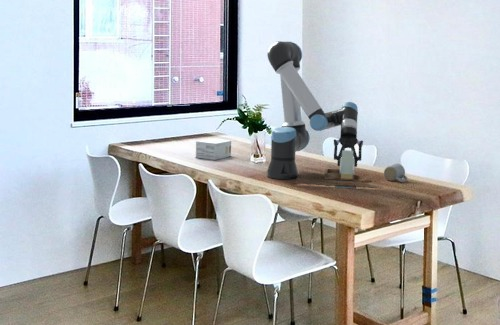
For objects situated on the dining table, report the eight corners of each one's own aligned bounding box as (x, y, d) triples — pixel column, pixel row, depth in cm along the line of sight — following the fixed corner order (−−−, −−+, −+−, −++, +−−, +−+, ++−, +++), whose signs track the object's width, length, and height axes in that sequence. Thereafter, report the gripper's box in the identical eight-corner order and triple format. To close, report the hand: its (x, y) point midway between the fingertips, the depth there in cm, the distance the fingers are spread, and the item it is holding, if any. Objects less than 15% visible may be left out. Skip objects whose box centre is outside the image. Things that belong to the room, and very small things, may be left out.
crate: (324, 180, 320) (324, 173, 320) (325, 175, 334) (326, 168, 333) (354, 182, 318) (354, 175, 318) (354, 177, 332) (354, 169, 331)
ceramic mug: (382, 180, 326) (383, 164, 325) (390, 177, 332) (392, 162, 331) (401, 183, 319) (403, 167, 318) (410, 181, 325) (411, 165, 324)
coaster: (334, 187, 306) (335, 186, 306) (335, 183, 314) (335, 182, 314) (355, 188, 304) (355, 187, 304) (355, 184, 313) (355, 183, 313)
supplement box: (215, 160, 372) (215, 143, 370) (195, 157, 379) (195, 141, 377) (231, 156, 386) (231, 140, 385) (212, 154, 393) (212, 138, 391)
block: (340, 178, 306) (341, 151, 304) (341, 176, 311) (342, 150, 309) (352, 178, 306) (353, 152, 304) (352, 176, 311) (353, 150, 309)
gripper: (368, 136, 319) (367, 177, 306) (329, 135, 322) (326, 175, 309) (368, 126, 313) (367, 167, 300) (329, 125, 316) (326, 166, 303)
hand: (346, 171), depth 304 cm, fingers closed on block, 5 cm apart
